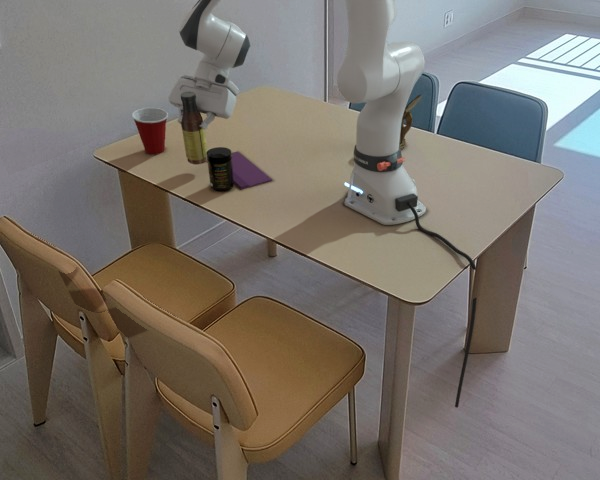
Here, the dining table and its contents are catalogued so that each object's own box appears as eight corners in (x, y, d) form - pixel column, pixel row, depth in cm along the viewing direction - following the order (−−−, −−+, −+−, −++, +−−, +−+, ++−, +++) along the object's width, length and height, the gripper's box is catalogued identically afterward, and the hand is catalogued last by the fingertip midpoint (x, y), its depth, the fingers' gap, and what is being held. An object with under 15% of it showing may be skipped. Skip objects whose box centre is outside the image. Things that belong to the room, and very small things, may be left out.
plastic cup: (167, 159, 197) (161, 121, 190) (133, 157, 199) (126, 119, 192) (178, 144, 206) (172, 107, 199) (145, 142, 207) (138, 105, 200)
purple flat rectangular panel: (272, 180, 185) (272, 178, 185) (240, 189, 181) (240, 187, 181) (238, 152, 200) (238, 150, 200) (208, 160, 196) (208, 158, 196)
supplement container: (238, 189, 181) (235, 154, 175) (216, 195, 179) (212, 159, 173) (228, 179, 186) (225, 145, 180) (206, 185, 184) (202, 150, 177)
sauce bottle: (201, 154, 192) (193, 87, 180) (212, 161, 188) (205, 93, 176) (181, 160, 189) (172, 93, 177) (193, 168, 185) (185, 99, 173)
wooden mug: (407, 158, 195) (413, 99, 184) (370, 146, 202) (373, 89, 191) (423, 148, 201) (429, 90, 190) (385, 137, 207) (389, 80, 196)
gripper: (174, 68, 183) (156, 113, 183) (233, 80, 175) (214, 128, 174) (186, 79, 189) (169, 123, 189) (244, 91, 181) (226, 137, 180)
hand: (191, 125), depth 181 cm, fingers closed on sauce bottle, 6 cm apart
